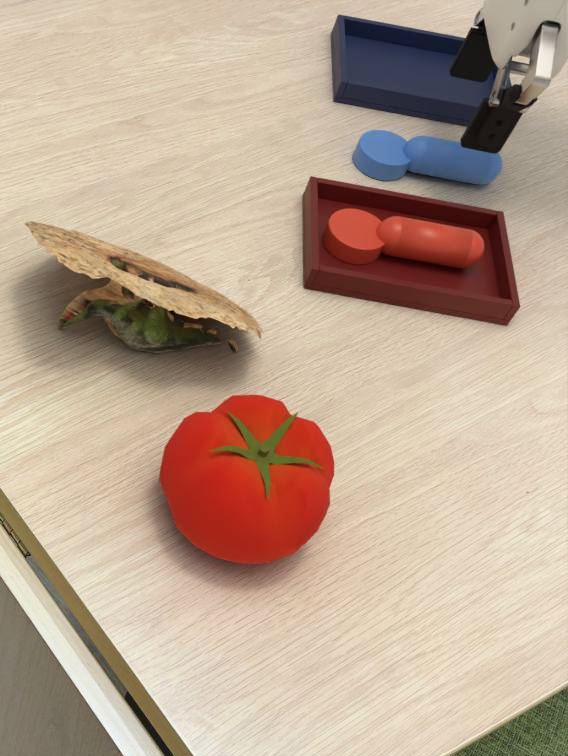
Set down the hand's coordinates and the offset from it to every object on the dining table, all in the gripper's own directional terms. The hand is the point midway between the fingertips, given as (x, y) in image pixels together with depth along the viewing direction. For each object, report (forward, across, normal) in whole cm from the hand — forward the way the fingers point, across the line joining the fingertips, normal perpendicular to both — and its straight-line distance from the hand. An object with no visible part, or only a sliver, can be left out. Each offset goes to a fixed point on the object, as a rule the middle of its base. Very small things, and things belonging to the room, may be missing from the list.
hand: (472, 111), depth 82 cm
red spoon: (+6, -12, +4) cm, 14 cm away
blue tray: (+6, +14, +1) cm, 15 cm away
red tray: (+6, -12, +4) cm, 14 cm away
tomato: (+7, -40, +17) cm, 44 cm away
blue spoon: (+6, 0, +1) cm, 6 cm away
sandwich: (+7, -24, +25) cm, 35 cm away
